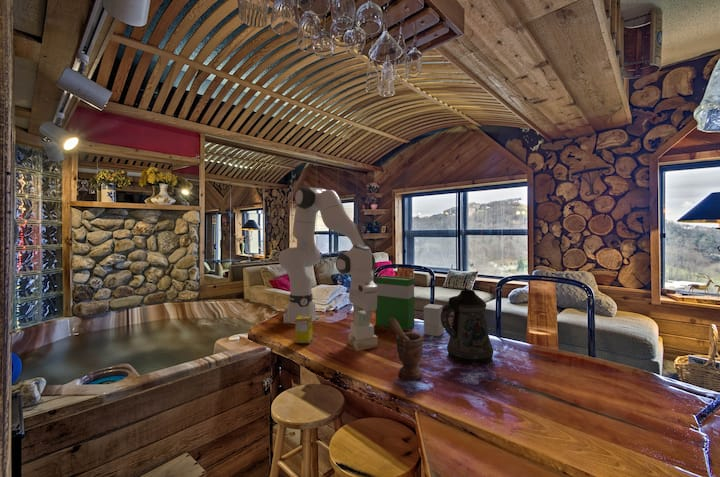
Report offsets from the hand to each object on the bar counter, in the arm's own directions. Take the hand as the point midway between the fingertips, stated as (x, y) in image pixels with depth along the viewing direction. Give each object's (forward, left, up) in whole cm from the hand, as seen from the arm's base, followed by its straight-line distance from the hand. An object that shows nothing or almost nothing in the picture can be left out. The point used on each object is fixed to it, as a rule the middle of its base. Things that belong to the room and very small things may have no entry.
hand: (361, 317), depth 132 cm
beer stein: (+29, +30, -12) cm, 43 cm away
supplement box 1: (-14, -21, -12) cm, 28 cm away
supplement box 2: (+1, +36, -12) cm, 38 cm away
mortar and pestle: (+32, +1, -12) cm, 34 cm away
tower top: (0, 0, -7) cm, 7 cm away
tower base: (0, 0, -12) cm, 12 cm away
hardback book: (-17, +26, -12) cm, 33 cm away
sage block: (0, 0, -3) cm, 3 cm away
